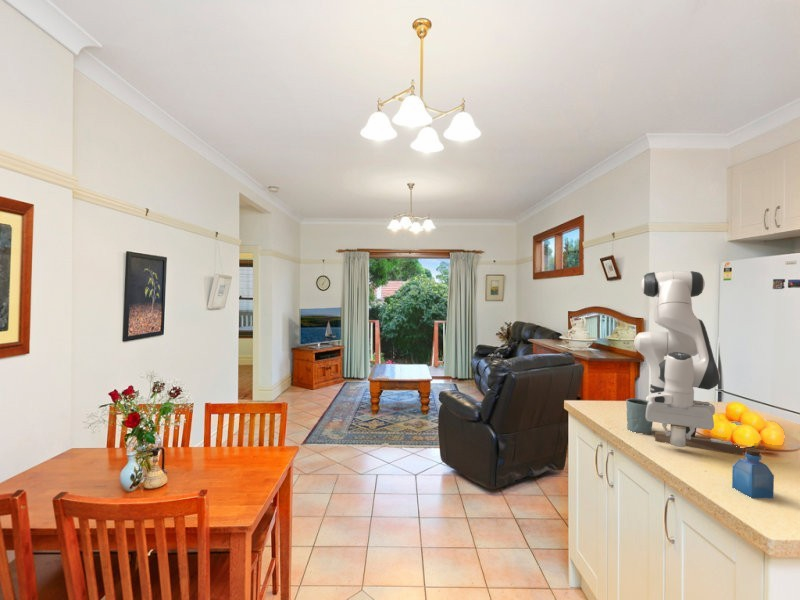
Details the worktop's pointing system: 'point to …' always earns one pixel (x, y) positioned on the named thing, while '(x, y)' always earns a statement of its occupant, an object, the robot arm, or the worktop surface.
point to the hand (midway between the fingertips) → (677, 437)
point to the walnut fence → (704, 443)
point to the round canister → (678, 435)
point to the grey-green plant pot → (638, 416)
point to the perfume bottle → (753, 476)
